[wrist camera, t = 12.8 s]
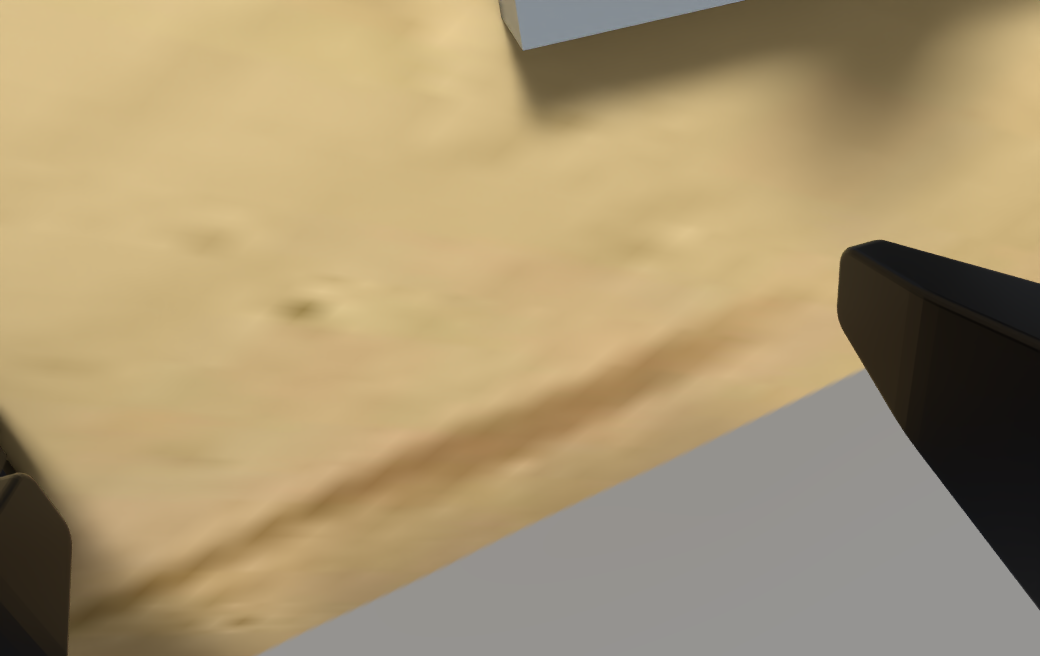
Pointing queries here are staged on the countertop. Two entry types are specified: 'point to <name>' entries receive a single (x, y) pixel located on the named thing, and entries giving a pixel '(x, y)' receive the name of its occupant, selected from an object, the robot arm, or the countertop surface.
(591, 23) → the tray
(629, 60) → the countertop surface
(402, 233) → the countertop surface
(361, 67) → the countertop surface
